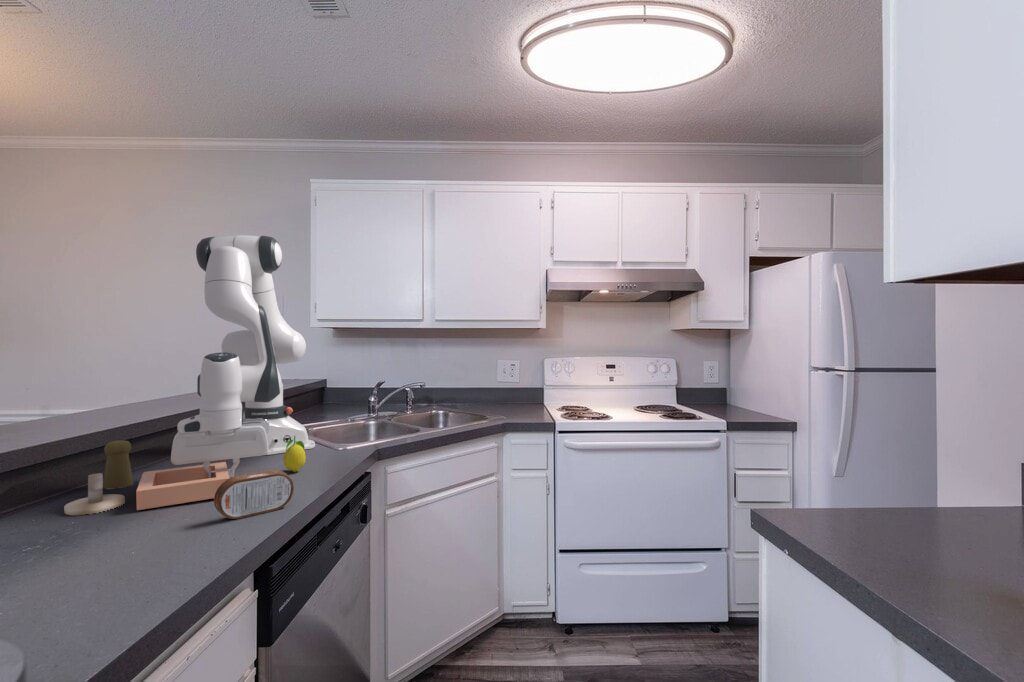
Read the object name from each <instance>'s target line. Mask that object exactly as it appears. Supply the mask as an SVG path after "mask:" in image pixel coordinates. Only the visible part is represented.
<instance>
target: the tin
mask: <svg viewBox="0 0 1024 682" xmlns="http://www.w3.org/2000/svg"><path fill="white" fill-rule="evenodd" d="M294 490H295V485H294V481H293V480H292V478H291V476H289V475H288V474H287V473H286V472H285V471H283V470H280V469H271V470H265V471H258V472H254V473H248V474H241V475H239V474H238V475H235V476H234V477H229V479H227V480H226V481H225V482H223V483H222V484H221V485H220V486H219V488H218V489H217V491H216V493H215V496H214V498H213V504H214V508H215V509H216V510H217V512H218V513H220V514H221V515H222V516H223V517H225V518H227V519H231V520H237V519H243V518H248V517H252V516H256V515H262V514H266V513H271V512H275V511H278V510H280V509H283V508H284V507H285V506H286V505H287V504H289V502H290V501H291V499H292V497H293V496H294V495H293V494H294Z"/></svg>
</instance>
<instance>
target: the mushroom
mask: <svg viewBox="0 0 1024 682" xmlns="http://www.w3.org/2000/svg"><path fill="white" fill-rule="evenodd" d="M103 480H104V474H103V473H102V472H99V473H91V474H89V475H87V496H86V497H83V498H79V499H75V500H73V501H70V502H68V503H66V504H65V505H64V507H63V508H64V511H63V513H64V514H65V515H67V516H86V515H85V514H89V515H94V514H93V513H96V514H100V513H99V512H101V513H104V512H103V511H105V512H108V511H107V510H109V511H111V510H110V509H113V510H115V509H114V508H116V507H118V508H120V507H122V506H124V505H125V503H126V499H125V498H126V497H125V496H124V495H123V494H114V493H112V494H109V493H108V494H104V493H103V492H104V491H103V490H104V489H103ZM123 504H124V505H123ZM121 505H122V506H121ZM119 506H120V507H119ZM116 509H117V508H116Z"/></svg>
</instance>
